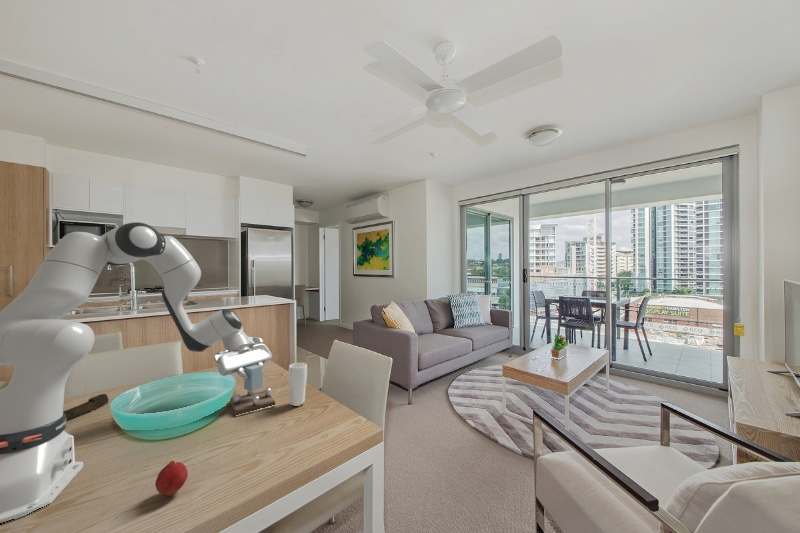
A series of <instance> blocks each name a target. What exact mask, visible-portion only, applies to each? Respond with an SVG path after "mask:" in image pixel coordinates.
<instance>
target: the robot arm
mask: <svg viewBox="0 0 800 533" xmlns="http://www.w3.org/2000/svg"><path fill="white" fill-rule="evenodd" d="M141 260H143V261H146V262H147V263H149V264H150V265H151V266H152V267H153V268H154V269H155V271H157V273H158V274H159V276H160V277H161V279H162V281H163V285H164V288H163V289H162V290H161V296H162V299H163V302H164V305H165V306H166V309H167V311H168V313H169V315H170V317H171V319H172V320H173V322H174V324H175V327H176V328H177V330H178V333H179V334H180V338H181V339H182V342H183V344H184V346H185V348H186V349H187V350H189V351H190V352H195V353H197V352H198V353H199V352H200V353H201V352H204V351H205V350H207V349H208V348H210V347H212V345H214V344H215V343H217V342H220V341H222V344H223V348H224V350H223V351H217V352H216V353H215V354H214V356H213V359H214V362H215V363H216V367H217V369H218V372H219V374H220V375H221V376H222V377H226V376H229V375H231V374H235V373H236V374H237V376H239V377H241V378H242V379H243V382H244V381H245V380H248V379H249V378H250V376H249V374H248V373H247V374H246V373H245V372H244V367H248V366H251V365H254V364H256V365H260V366H263V365H264V364H267V363H269V361H271V360H272V358H273V354H272V352H271V350H270V349H269V347H268V346H267V345H266V344H264V343H263V341H264V340H263V339H262V338H261V337H252V336H248V335H247V333H246V332H244V329H243V326H242V324H243V323H242V322H241V320H240V318H239V316H238V314H237V313H236V312H235V311H233V310H230V309H220V310H218V311H216V312H214V313H212V314H211V315H210V316H207V317H206V318H204V319H203V320H200V321H198V322H197V323H192V321H191V319H190V318H189V315H188V313H187V311H186V310H185V308H184V305H183V302H184V300H185V298H186V296H188V294H190V292H191V291H192V290H194V289H195V287H196V286H197V284H198V283H199V281H200V280H201V277H202V270H201V268H200V266H199V264H198V263H197V261H196V260H195V259H194V257H193V256H192V255H191V253H190V252H189V250H188V249H187V248H185V246H184V245H183V244H182V243H181V242H180V241H179V240H178V239H176V237H174V236H171V235H163V234H162V233H161V232H159V231H158V230H157V229H155V228H154V227H153V226H151V225H149V224H148V223H144V222H140V221H139V222H127V223H125V224H122V225H121V226H118V227H115V228H113V229H111V230H108V231H107V232H105V233H104V234H102V235H96V234H93V233H91V232H87V231H72V232H69V233H67V234H65V235H64V236H63V237H62V238H61V239H59V240H58V242H56V244H55V245H54V246H53V247H52V248H51V250H50V251H49V252H48V253H47V254H46V256H45V258H44V259H43V261H42V263H41V264H40V265H39V268H37V270H36V272H35V274H34V275H33V276H32V278H31V279H30V281H29V282H28V284H27V285H26V287H25V288H23V290H22V291H21V293H20V294H18V295H17V297H16V298H14V299H13V300H12V301H11V302H10V303H8V305H7V306H5V307H4V308H3V309H2V310H0V366H12V367H13V368H14V369H13V373H12V375H11V379H10V381H9V382H8V384H7V385H6V386H5V387H3V388H1V389H0V522H1V521H8V520H11V519H14V520H17V519H19V518H22V517H24V516H28V515H30V514H32V513H33V512H32V511H34V510H36V509H38V508H41V507H43V508H45V507H47V506H48V505H47V504H49V503H50V504H51V503H52V502H54V500H55V499H56V498H58V496H59V494H61V492H62V491H63V490H64V489H65V488H66V487H67V486H68V485H69V483H71V482H72V480H73V479H74V478H75V477H76V475H78V473H80V472H81V470H82V469H83V468H84V462H83V461H75V439H74V438H75V436H74V435H72V434H70V433H68V432H67V431H66V430H65V429H66V423H67V421H66V415H65V413H63V411H64V404H65V403H64V401H65V392H66V390H65V389H66V384H67V381H68V379H69V378H68V377H69V376H70V373H71V371H72V370H73V368H74V367H75V366H76V364H77V363H79V361H81V360H82V359H84V358H85V357H87V356H88V355H89V353H90V352H91V351H92V349H93V347H94V345H95V340H96V338H95V332H94V331H93V329H92V327H90V326H89V325H88V324H85V323H83V322H78V321H73V320H69V319H62V318H63V317H64V316H65V315H67V314H68V313H69V312H70V311H73V310H74V309H76V308H79V307H80V306H82V305H83V304H85V303H86V302H87V300H88V299H89V296H90V295H91V293H92V291H93V289H94V287H95V285H96V283H97V281H98V279H99V278H100V275H101V273H102V271H103V270H104V267H105V266H106V265H110V266H125V265H128V264H131V263H135V262H138V261H139V262H140V261H141ZM263 374H265V373H264V370H263ZM50 504H49V505H50ZM46 505H47V506H46ZM44 506H45V507H44ZM41 509H42V508H41ZM31 512H32V513H31ZM29 513H30V514H29ZM27 514H28V515H27ZM11 521H12V520H11ZM8 522H9V521H8Z"/></svg>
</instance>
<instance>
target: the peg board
mask: <svg viewBox="0 0 800 533" xmlns="http://www.w3.org/2000/svg"><path fill="white" fill-rule="evenodd" d="M246 390H247V389H246ZM231 403H232V405H231V407H232V406H233V407H232V409H233V408H234V410H233V412H234V411H235V412H234V414H235V413H236V415H239V414H242V413H246V412H250V411H254V410H257V409H260V408H265V407H268V406H272V405H275V406H276V400H274V398H273V397H272V388H271V387H266V388H265V390H263V391H258V392H254V390H253V391H250V390H247V394H245V395H241V394H239V393H237V394H234V395H233V397H231V398H230V404H231ZM236 415H235V416H236Z"/></svg>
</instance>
